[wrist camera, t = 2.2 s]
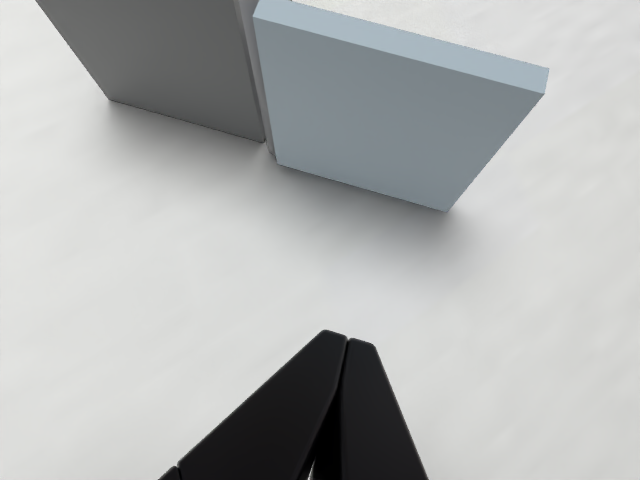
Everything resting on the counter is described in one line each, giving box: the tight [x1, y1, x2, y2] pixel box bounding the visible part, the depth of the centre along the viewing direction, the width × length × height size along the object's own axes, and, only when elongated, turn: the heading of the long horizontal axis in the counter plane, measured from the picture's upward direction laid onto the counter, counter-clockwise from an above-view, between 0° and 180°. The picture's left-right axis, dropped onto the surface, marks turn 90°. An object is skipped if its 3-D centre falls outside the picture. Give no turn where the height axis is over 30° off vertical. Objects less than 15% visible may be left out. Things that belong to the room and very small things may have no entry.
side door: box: [239, 0, 549, 212], centre depth 17 cm, size 1×9×9 cm, turn 73°
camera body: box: [36, 0, 292, 143], centre depth 19 cm, size 6×17×10 cm, turn 73°
